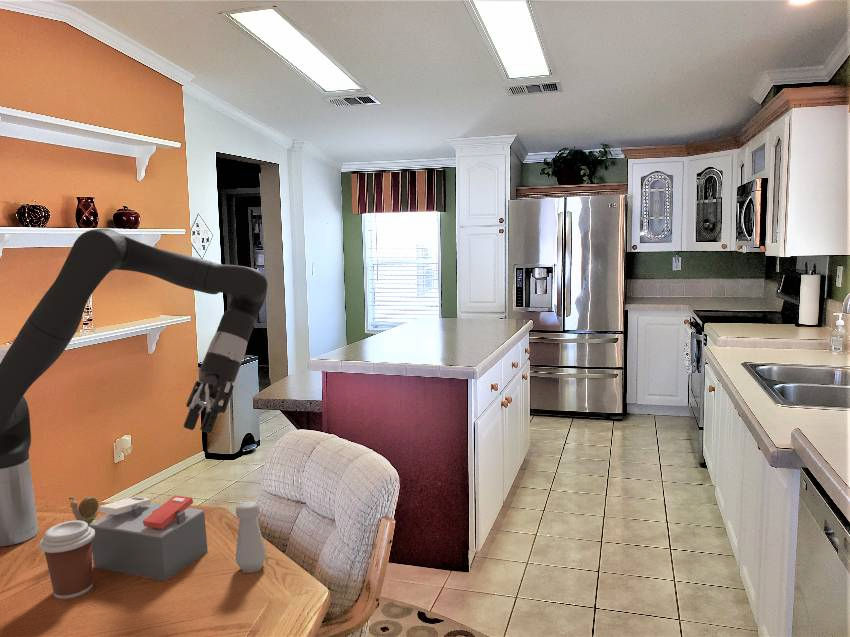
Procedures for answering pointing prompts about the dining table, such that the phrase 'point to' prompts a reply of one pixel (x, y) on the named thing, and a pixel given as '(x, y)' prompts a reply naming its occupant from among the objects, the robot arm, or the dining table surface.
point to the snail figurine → (85, 509)
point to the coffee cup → (69, 558)
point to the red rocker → (167, 512)
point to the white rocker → (124, 505)
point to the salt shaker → (249, 539)
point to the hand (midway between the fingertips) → (196, 430)
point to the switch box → (148, 542)
